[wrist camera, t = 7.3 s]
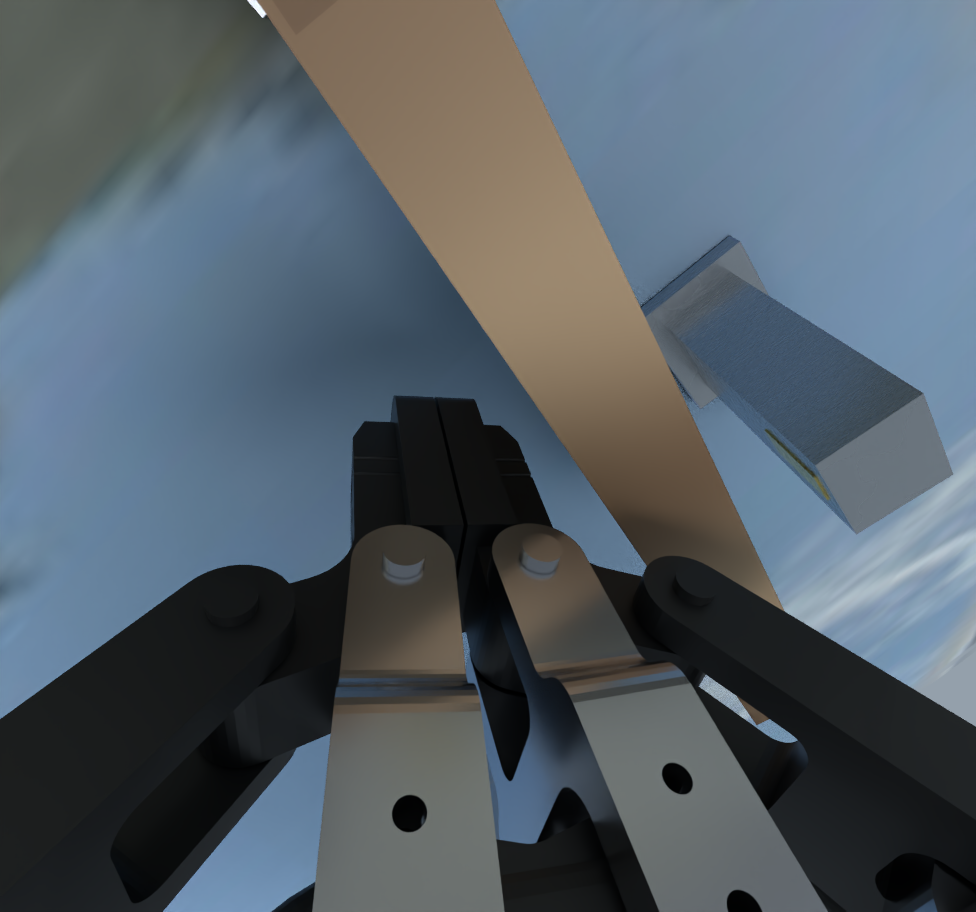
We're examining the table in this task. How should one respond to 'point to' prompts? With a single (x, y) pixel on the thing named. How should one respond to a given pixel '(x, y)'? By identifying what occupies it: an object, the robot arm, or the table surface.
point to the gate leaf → (524, 254)
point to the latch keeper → (798, 389)
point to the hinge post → (258, 8)
